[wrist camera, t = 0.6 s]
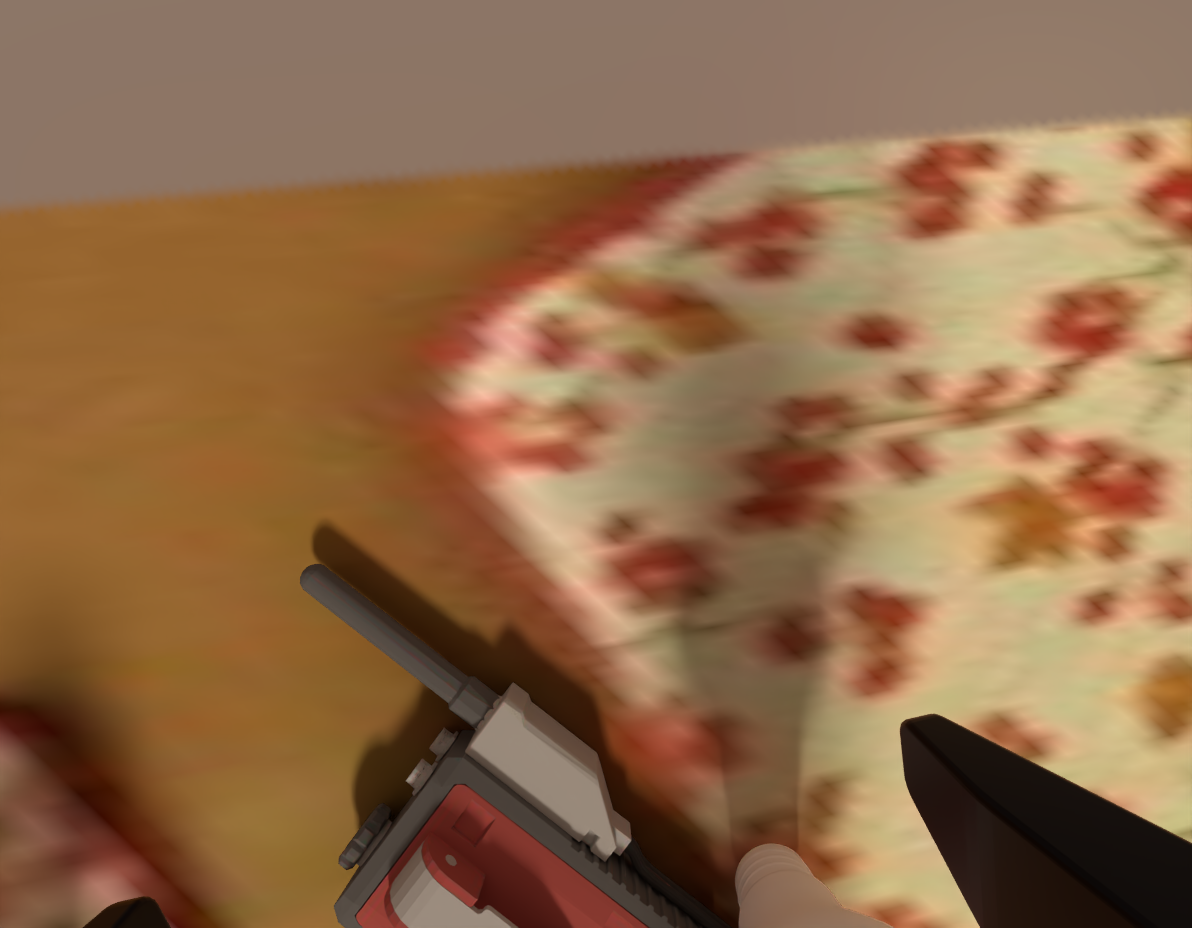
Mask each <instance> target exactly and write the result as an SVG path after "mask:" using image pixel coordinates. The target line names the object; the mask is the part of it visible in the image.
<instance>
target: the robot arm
mask: <svg viewBox="0 0 1192 928" xmlns="http://www.w3.org/2000/svg"><path fill="white" fill-rule="evenodd" d="M900 738H901V747H902V757H903V767H904V776H905V781H906V785H907V788H908V790H909V793H910V795H911V797H912V799H913V801H914V803H915V805H916V807H917V809H918V811H919V813H920V815H921V817H922V819H923V820H924V822H925V824H926V826H927V828H928V830H929V832H930V834H931V836H932V838H933V839H934V841H935V843H936V845H937V847H938V849H939V851H940V853H941V855H942V857H943V858H944V860H945V862H946V864H947V866H948V868H949V870H950V872H951V874H952V876H953V877H954V879H955V881H956V883H957V885H958V887H959V889H960V891H961V893H962V895H963V896H964V898H965V900H966V902H967V904H968V906H969V908H970V910H971V912H972V913H973V915H974V917H975V919H976V921H977V923H978V924H979V926H980V928H1192V843H1191V842H1189V841H1187V840H1185V839H1183V838H1181V837H1179V836H1177V835H1175V834H1173V833H1171V832H1169V831H1167V830H1165V829H1163V828H1161V827H1159V826H1157V825H1155V824H1153V823H1151V822H1149V821H1148V820H1146V819H1144V818H1142V817H1140V816H1138V815H1136V814H1134V813H1132V812H1130V811H1128V810H1126V809H1124V808H1122V807H1120V806H1118V805H1116V804H1114V803H1112V802H1110V801H1108V800H1106V799H1104V798H1102V797H1100V796H1098V795H1096V794H1094V793H1092V792H1090V791H1088V790H1086V789H1084V788H1083V787H1081V786H1079V785H1077V784H1075V783H1073V782H1071V781H1069V780H1067V779H1065V778H1063V777H1061V776H1059V775H1057V774H1055V773H1053V772H1051V771H1049V770H1047V769H1045V768H1043V767H1041V766H1039V765H1037V764H1035V763H1033V762H1031V761H1029V760H1027V759H1025V758H1023V757H1021V756H1019V755H1018V754H1016V753H1014V752H1012V751H1010V750H1008V749H1006V748H1004V747H1002V746H1000V745H998V744H996V743H994V742H992V741H990V740H988V739H986V738H984V737H982V736H980V735H978V734H976V733H974V732H972V731H970V730H968V729H966V728H964V727H962V726H960V725H958V724H956V723H955V722H953V721H951V720H949V719H947V718H945V717H943V716H940V715H937V714H928V715H924V716H919V717H915V718H911V719H906V720H905V721H903V722H902V723H901V727H900ZM83 928H171V927H170V925H169V923H168V922H167V920H166V918H165V916H164V914H163V913H162V911H161V909H160V907H159V905H158V904H157V902H156V901H155V900H154V899H152V898H150V897H145V896H143V897H138V898H134V899H130V900H125V901H121V902H117V903H115V904H112V905H110V906H108V907H107V908H106V909H104V910H103V911H102V912H101V913H99V914H98V915H97V916H96V917H95V918H94V919H92V920H91V921H90V922H89V923H88V924H86V925H85V926H84V927H83Z"/></svg>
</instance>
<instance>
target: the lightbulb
mask: <svg viewBox="0 0 1192 928" xmlns="http://www.w3.org/2000/svg"><path fill="white" fill-rule="evenodd" d="M735 888H736V892H737V896H738V903H739V907H740V914H739V928H894V927H892V926H890V925H888V924H887V923H885V922H882V921H879V920H877V919H874V918H872V917H869V916H867V915H864V914H861V913H858V912H855V911H852V910H849V909H846V908H843V907H842V906H841V905H840V904H839V902H838V901H837V899H836V898H835V896H834V895H833V894H832V892H831V891H830V890H829V889H828V887H827V886H825V885H824V884H823V883H822V882H821V881H820V880H818V879H817V878H815V877H814V875H813V874H812V873H811V871H810V869H809V868H808V866H807V865H806V864H805V863H804V861H803V860H802V859H801V857H800V856H799V855H798V854H797V853H796V852H795V851H793V850H792V849H790V848H788V847H787V846H784V845H781V844H774V843H771V844H763V845H760V846H757V847H755V848H753V849H751V850H750V851H749V852H748V853H746V854H745V856H744V857H743V858H742V859H741V861H740V863H739V865H738V867H737V870H736V874H735Z"/></svg>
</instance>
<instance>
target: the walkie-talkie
mask: <svg viewBox="0 0 1192 928" xmlns="http://www.w3.org/2000/svg"><path fill="white" fill-rule="evenodd" d="M300 584H301V586H302V588H303V590H305V591H306V592H307V593H308V594H310V595H311V596H312V597H314V598H315V599H316V600H317V601H319V602H320V603H321V604H322V605H324V606H325V607H326V608H328V609H329V610H330V611H331V612H333V613H334V614H335V615H337V616H338V617H339V618H340V619H342V620H343V621H344V622H345V623H347V624H348V625H349V626H351V627H352V628H353V629H354V630H356V631H357V632H358V633H360V634H361V635H362V636H363V637H365V638H366V639H367V640H368V641H370V642H371V643H372V644H374V645H375V646H376V647H377V648H379V649H380V650H381V651H382V652H384V653H385V654H386V655H388V656H389V657H390V658H391V659H393V660H394V661H395V662H397V663H398V664H399V665H400V666H402V667H403V668H404V669H405V670H407V671H408V672H409V673H411V674H412V675H413V676H414V677H416V678H417V679H418V680H420V681H421V682H422V683H423V684H425V685H426V686H427V687H428V688H430V689H431V690H432V691H434V692H435V693H436V694H437V695H439V696H440V697H441V698H442V699H444V700H445V701H446V702H448V704H449V709H450V710H451V711H452V712H454V713H455V714H456V715H457V716H459V717H460V718H461V719H463V720H464V721H465V722H466V723H468V724H469V725H470V726H472V727H473V728H474V729H475V730H462V731H461V733H460V734H459V732H457V731H456V732H455V733H454V734H452V733H451V732H449V731H448V730H447V729H445V728H443V730H442V731H441V732H440V733H439V735H438V736H437V738H436V739H435V740H434V742H433V743H432V744H431V746H430V748H429V749H430V750H431V751H433V752H434V753H435V754H436V755H437V758H436V759H435V761H437V762H438V763H436V762H434V764H433V765H432V766H431V765H430V764H429V763H428V762H426V761H425V760H424V759H423V758H422V759H421V760H420V762H419V763H418V764H417V766H416V767H415V768H414V770H413V771H412V772H411V774H410V775H409V777H408V778H407V780H406V782H407V783H409V785H411V786H412V787H413V788H414V791H413V793H412V794H413V796H412V797H411V798H410V799H409V801H408V802H407V803H406V805H405V806H404V807H403V809H402V810H401V811H400V813H399V814H398V815H397V817H396V818H395V819H394V820H393V821H392V822H391V821H390V820H389V818H390V816H391V809H390V808H389V807H388V806H387V805H385V804H384V803H382V804H379V805H378V806H377V807H376V808H375V809H374V811H373V812H372V813H371V814H370V816H369V817H368V818H367V820H366V821H365V822H364V824H363V825H362V826H361V828H360V829H359V830H358V832H357V833H356V835H355V836H354V837H353V839H352V840H351V841H350V842H349V844H348V845H347V847H346V848H345V850H344V851H343V852H342V854H341V855H340V856H339V864H340V865H341V866H342V867H343V868H345V869H346V870H348V869H351V868H353V867H354V866H355V864H358V865H359V867H358V869H357V870H356V872H355V874H354V875H353V877H352V878H351V880H350V881H349V883H348V885H347V886H346V888H345V889H344V891H343V892H342V894H341V896H340V897H339V899H338V900H337V902H336V903H335V905H334V909H335V912H336V916H337V919H338V922H339V923H340V924H341V925H343V926H344V927H345V928H732V927H731V926H729V925H728V924H727V923H725V922H724V921H723V920H722V919H720V918H719V917H718V916H716V915H715V914H714V913H713V912H711V911H710V910H709V909H708V908H706V907H705V906H704V905H702V904H701V903H700V902H699V901H697V900H696V899H695V898H693V897H692V896H691V895H690V894H688V893H687V892H686V891H685V890H683V889H682V888H681V887H679V886H678V885H677V884H676V883H674V882H673V881H672V880H670V879H669V878H668V877H667V876H665V875H664V874H663V873H661V872H660V871H659V870H658V869H656V868H655V867H654V866H653V865H652V864H651V863H650V862H649V861H648V860H647V859H646V858H645V857H644V856H643V854H642V852H641V849H640V847H639V845H638V843H637V842H636V840H635V839H634V838H633V837H632V836H631V828H630V822H628V821H627V820H626V819H624V818H623V817H622V816H621V815H619V814H618V813H617V812H615V811H614V810H613V807H612V803H611V800H610V796H609V792H608V789H607V785H606V782H605V778H604V775H603V771H602V767H601V764H600V760H599V757H598V754H597V752H595V751H594V750H593V749H591V748H590V747H589V746H588V745H586V744H585V743H584V742H582V741H581V740H580V739H579V738H577V737H576V736H575V735H574V734H572V733H571V732H570V731H568V730H567V729H566V728H565V727H563V726H562V725H561V724H559V723H558V722H557V721H556V720H554V719H553V718H552V717H551V716H549V715H548V714H547V713H545V712H544V711H543V710H542V709H540V708H539V707H538V706H536V705H535V704H534V703H533V702H531V700H530V697H529V694H528V693H527V692H525V691H524V690H523V689H521V688H520V687H519V686H517V685H516V684H515V683H514V682H513V683H512V684H511V685H510V686H509V688H508V689H507V690H506V692H505V693H504V694H503V695H502V696H500V695H498V694H496V693H495V692H494V691H493V690H491V689H490V688H489V687H487V686H486V685H485V684H484V683H482V682H481V681H480V680H478V679H477V678H476V677H474V676H471V677H468V676H466V675H465V674H464V673H463V672H461V671H460V670H459V669H457V668H456V667H455V666H454V665H452V664H451V663H450V662H448V661H447V660H446V659H445V658H443V657H442V656H441V655H439V654H438V653H437V652H436V651H434V650H433V649H432V648H430V647H429V646H428V645H426V644H425V643H424V642H423V641H421V640H420V639H419V638H417V637H416V636H415V635H414V634H412V633H411V632H410V631H408V630H407V629H406V628H405V627H403V626H402V625H401V624H399V623H398V622H397V621H395V620H394V619H393V618H392V617H390V616H389V615H388V614H386V613H385V612H384V611H383V610H381V609H380V608H378V607H377V606H376V605H374V604H373V603H372V602H370V601H369V600H368V599H367V598H365V597H364V596H363V595H361V594H360V593H359V592H358V591H356V590H355V589H354V588H352V587H351V586H350V585H348V584H347V583H346V582H345V581H343V580H342V579H341V578H339V577H338V576H337V575H336V574H334V573H333V572H332V571H330V570H329V569H328V568H327V567H325V566H324V565H321V564H314V565H310V566H308V567H307V568H306V569H305V570H304V571H303V572H302V574H301V577H300ZM458 734H459V735H458ZM457 735H458V736H457Z"/></svg>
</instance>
